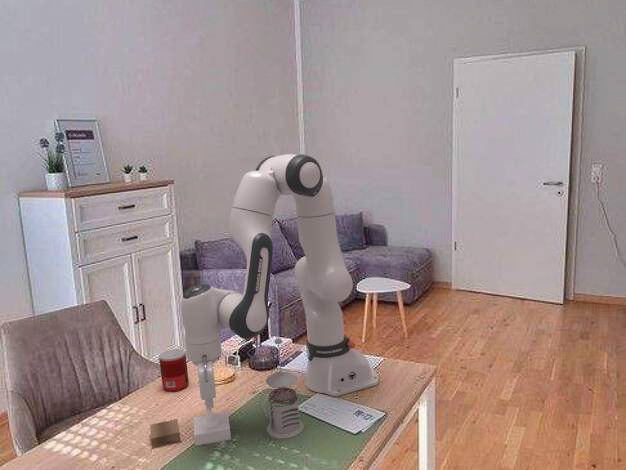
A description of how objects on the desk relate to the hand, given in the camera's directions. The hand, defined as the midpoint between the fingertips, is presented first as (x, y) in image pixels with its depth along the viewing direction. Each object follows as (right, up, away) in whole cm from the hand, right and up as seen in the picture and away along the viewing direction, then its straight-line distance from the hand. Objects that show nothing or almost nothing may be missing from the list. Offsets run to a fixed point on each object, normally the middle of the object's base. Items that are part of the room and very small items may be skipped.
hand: (209, 398), depth 137 cm
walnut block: (-12, -11, +1) cm, 16 cm away
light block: (+1, -10, +2) cm, 10 cm away
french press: (+19, -9, +2) cm, 21 cm away
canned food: (-16, -6, +29) cm, 34 cm away
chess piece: (0, -7, +1) cm, 7 cm away
